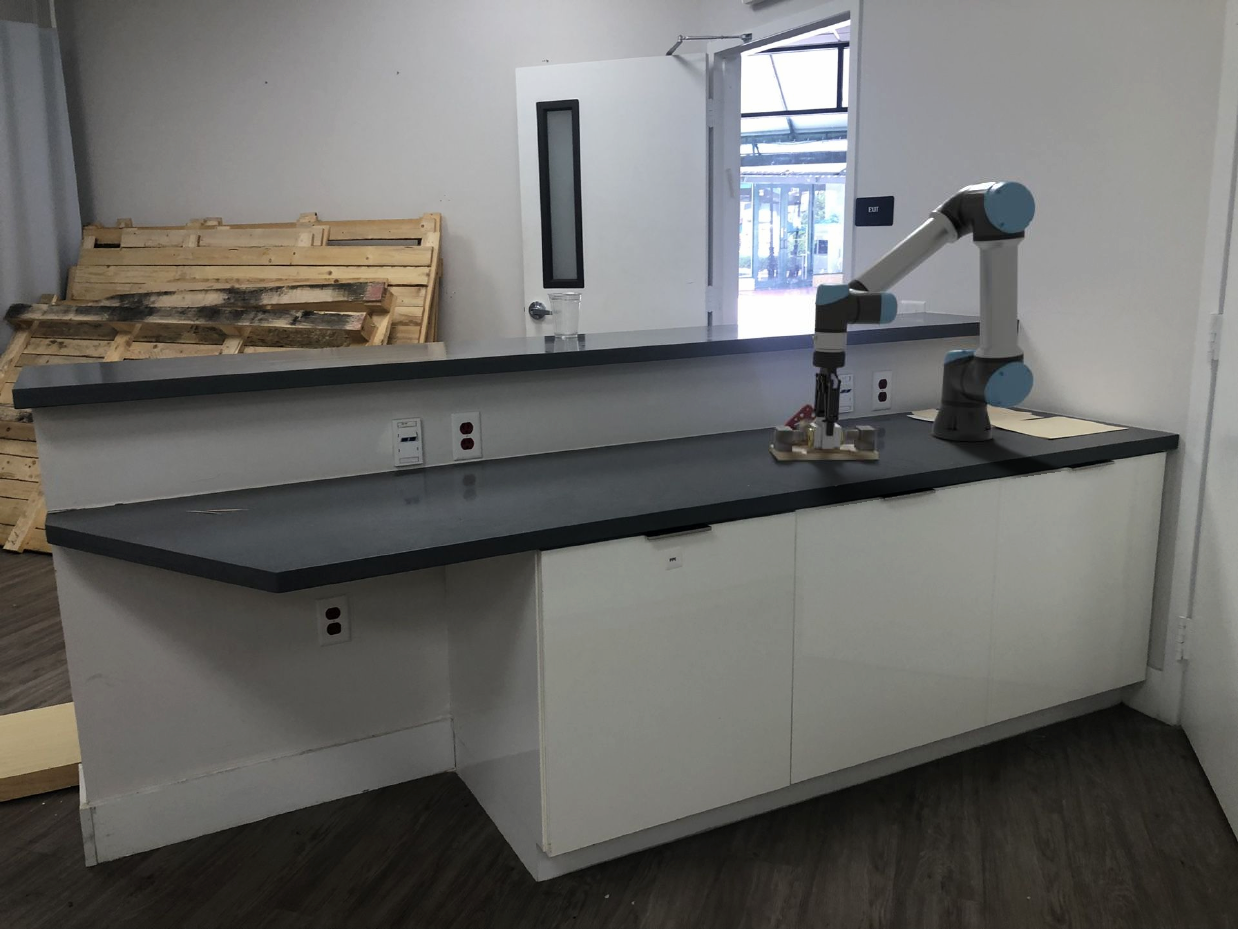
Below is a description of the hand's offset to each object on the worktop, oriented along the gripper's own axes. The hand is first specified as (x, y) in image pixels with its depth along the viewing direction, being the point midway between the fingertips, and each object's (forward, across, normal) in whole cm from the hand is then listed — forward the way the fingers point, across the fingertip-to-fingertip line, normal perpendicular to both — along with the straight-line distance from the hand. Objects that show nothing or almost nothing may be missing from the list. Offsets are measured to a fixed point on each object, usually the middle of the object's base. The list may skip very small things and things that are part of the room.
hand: (824, 445), depth 234 cm
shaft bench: (+2, -1, 0) cm, 3 cm away
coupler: (+1, 0, 0) cm, 1 cm away
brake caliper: (+3, -10, -2) cm, 10 cm away
